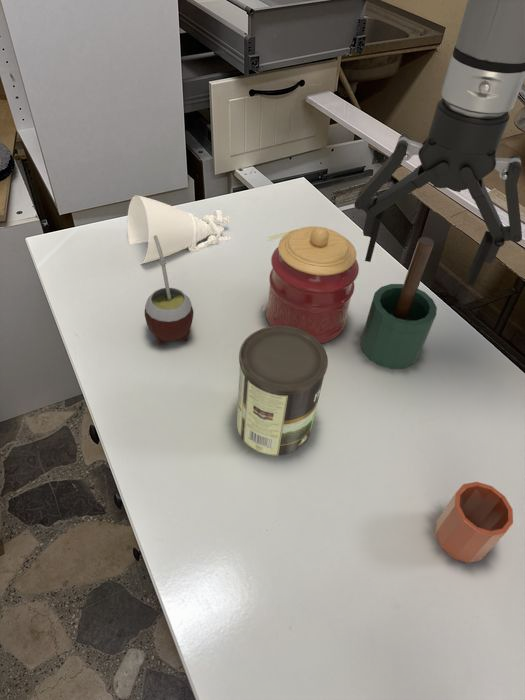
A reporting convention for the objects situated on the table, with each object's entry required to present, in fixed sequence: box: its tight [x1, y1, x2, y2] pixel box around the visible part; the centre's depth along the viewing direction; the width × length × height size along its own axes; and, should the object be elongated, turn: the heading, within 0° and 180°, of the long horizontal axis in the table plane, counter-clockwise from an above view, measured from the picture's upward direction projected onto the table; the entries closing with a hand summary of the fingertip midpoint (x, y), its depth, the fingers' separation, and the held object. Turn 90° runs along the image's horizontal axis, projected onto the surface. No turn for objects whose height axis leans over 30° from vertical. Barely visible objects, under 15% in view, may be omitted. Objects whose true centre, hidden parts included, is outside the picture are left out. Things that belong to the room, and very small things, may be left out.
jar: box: [359, 283, 438, 370], centre depth 79 cm, size 9×9×10 cm
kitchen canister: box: [265, 225, 360, 344], centre depth 79 cm, size 13×13×18 cm
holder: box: [434, 481, 514, 564], centre depth 58 cm, size 6×6×8 cm
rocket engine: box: [126, 195, 232, 265], centre depth 95 cm, size 12×12×18 cm
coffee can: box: [236, 326, 329, 456], centre depth 66 cm, size 10×10×14 cm
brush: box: [390, 236, 435, 321], centre depth 75 cm, size 4×4×20 cm
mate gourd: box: [144, 236, 194, 346], centre depth 76 cm, size 8×8×15 cm
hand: (419, 267), depth 70 cm, fingers open, 13 cm apart
